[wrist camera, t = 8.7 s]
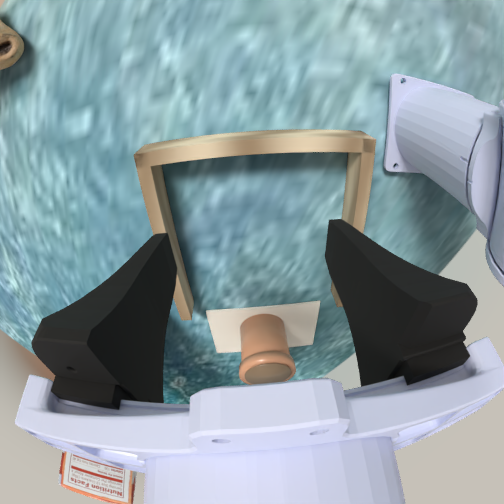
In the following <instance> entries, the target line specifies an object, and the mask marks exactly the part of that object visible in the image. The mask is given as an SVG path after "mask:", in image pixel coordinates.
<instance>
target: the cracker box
mask: <svg viewBox="0 0 504 504" xmlns="http://www.w3.org/2000/svg"><path fill="white" fill-rule="evenodd" d="M59 474H60V475H59V485H60V486H62V487H64V488H66V489H69V490H72V491H74V492H77V493H80V494H83V495H85V496H88V497H91V498H94V499H97V500H101V501H105V502H108V503H112V504H133V497H134V490H135V483H136V471H131V470H127V469H123V468H118V467H114V466H111V465H107V464H103V463H100V462H96V461H93V460H90V459H87V458H84V457H81V456H77V455H74V454H72V453H69V452H66V451H63V453H62V459H61V467H60V473H59Z"/></svg>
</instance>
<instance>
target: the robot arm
mask: <svg viewBox="0 0 504 504" xmlns="http://www.w3.org/2000/svg"><path fill="white" fill-rule="evenodd" d="M401 78H402V79H403V83H401V81H400V80H401ZM395 163H396V166H395V167H394V168H393V165H394V164H395ZM384 168H385V169H386V170H387V171H389V172H410V173H424V174H425V175H426V176H428V177H429V178H430V179H432V180H433V181H434V182H436V183H437V184H438V185H440V186H441V187H442V188H443V189H445V190H446V191H447V192H448V193H450V194H451V195H452V196H453V197H455V198H456V199H457V200H458V201H459V202H460V203H462V204H463V205H464V206H465V207H466V208H467V209H469V210H470V211H471V212H472V213H473V214H474V215H475V216H476V219H477V227H476V228H477V229H478V230H479V231H480V232H481V233H482V234H483V235H484V236H485V237H486V239H487V243H486V249H485V250H486V259H487V263H488V265H489V268H490V270H491V271H492V273H493V275H494V276H495V277H496V279H497V280H498V281H499V282H500V283H501V284H502V285H503V286H504V100H501V101H500V103H499V107H497V106H495V105H492V104H489V103H486V102H483V101H480V100H477V99H475V98H474V96H472V95H470V94H467V93H464V92H461V91H458V90H455V89H452V88H449V87H446V86H443V85H440V84H436V83H433V82H429V81H426V80H422V79H418V78H414V77H410V76H405V75H401V74H392V75H391V76H390V95H389V114H388V127H387V139H386V148H385V157H384ZM325 259H326V262H327V266H328V270H329V273H330V276H331V279H332V281H333V283H334V286H335V288H336V291H337V293H338V295H339V298H340V300H341V303H342V305H343V308H344V310H345V313H346V315H347V318H348V322H349V326H350V329H351V333H352V337H353V342H354V346H355V351H356V356H357V361H358V367H359V373H360V381H361V387H358V388H354V389H349V390H344V391H343V387H342V384H341V383H340V382H338V381H335V380H332V379H329V378H309V379H302V380H294V381H286V382H277V383H266V384H254V385H239V386H220V387H213V388H206V389H203V390H201V391H199V392H197V393H195V394H193V395H192V396H190V404H166V403H164V400H163V360H164V344H165V334H166V327H167V323H168V318H169V314H170V309H171V305H172V300H173V296H174V292H175V287H176V278H177V265H176V261H175V258H174V254H173V250H172V247H171V243H170V239H169V235H168V233H159V234H154V235H153V236H152V237H151V238H150V239H149V240H148V241H147V242H146V243H145V244H144V245H143V246H142V247H141V248H140V249H139V250H138V251H137V252H136V253H135V254H134V255H133V256H132V257H131V258H130V259H129V260H128V261H127V262H126V263H125V264H124V265H123V266H122V267H121V268H119V269H118V270H117V271H116V272H115V273H114V274H113V275H112V276H111V277H109V278H108V279H107V280H106V281H104V282H103V283H102V284H101V285H99V286H98V287H97V288H95V289H94V290H92V291H91V292H89V293H88V294H87V295H85V296H84V297H82V298H81V299H79V300H77V301H76V302H74V303H72V304H71V305H69V306H67V307H65V308H64V309H62V310H60V311H58V312H56V313H53V314H51V315H49V316H47V317H45V318H43V319H42V321H41V323H40V325H39V327H38V329H37V331H36V334H35V336H34V338H33V340H32V348H33V350H34V352H35V354H36V355H37V357H38V358H39V359H40V360H41V361H42V362H43V363H44V364H45V365H46V366H47V367H48V368H49V369H50V370H51V371H52V373H54V374H55V375H56V376H55V379H54V382H53V381H51V380H49V379H47V378H43V377H39V376H35V375H29V378H28V381H27V384H26V387H25V390H24V393H23V396H22V399H21V402H20V406H19V409H18V413H17V416H16V420H15V424H16V425H17V426H19V427H20V428H22V429H23V430H25V431H26V432H28V433H29V434H31V435H33V436H34V437H36V438H38V439H39V440H41V441H43V442H45V443H46V444H48V445H50V446H52V447H55V448H58V449H60V450H63V451H66V452H69V453H72V454H74V455H77V456H81V457H84V458H87V459H90V460H93V461H96V462H100V463H103V464H107V465H111V466H114V467H118V468H123V469H127V470H131V471H136V472H141V473H145V488H144V504H405V499H404V494H403V489H402V484H401V479H400V475H399V471H398V466H397V462H396V458H395V454H394V451H396V450H398V449H401V448H403V447H406V446H408V445H411V444H413V443H415V442H418V441H420V440H422V439H424V438H426V437H428V436H430V435H433V434H435V433H437V432H439V431H441V430H443V429H445V428H447V427H448V426H450V425H452V424H454V423H456V422H458V421H460V420H462V419H463V418H465V417H467V416H469V415H470V414H472V413H474V412H476V411H477V410H479V409H480V408H482V407H483V406H484V405H485V404H486V403H488V402H489V401H490V400H491V399H493V398H494V397H495V396H496V395H497V394H498V393H499V392H501V391H502V390H503V389H504V365H503V363H502V362H501V360H500V358H499V356H498V354H497V352H496V350H495V348H494V347H493V345H492V343H491V341H490V339H489V337H485V338H482V339H480V340H478V341H475V342H473V343H471V344H470V345H468V346H467V347H466V346H465V345H464V343H463V341H465V339H466V336H465V335H464V333H463V330H464V329H465V327H466V326H467V324H468V323H469V321H470V320H471V318H472V316H473V315H474V313H475V311H476V307H477V298H476V296H475V295H474V294H473V292H472V291H471V289H470V288H469V286H468V285H467V284H465V283H462V282H458V281H455V280H451V279H447V278H444V277H442V276H439V275H436V274H433V273H431V272H429V271H426V270H424V269H422V268H419V267H417V266H415V265H413V264H411V263H409V262H407V261H405V260H403V259H401V258H400V257H398V256H396V255H394V254H393V253H391V252H389V251H388V250H386V249H385V248H383V247H381V246H380V245H378V244H377V243H375V242H374V241H373V240H371V239H370V238H368V237H367V236H365V235H364V234H363V233H361V232H360V231H359V230H357V229H356V228H354V227H353V226H352V225H350V224H349V223H347V222H346V221H344V220H342V219H335V220H329V225H328V234H327V243H326V251H325Z"/></svg>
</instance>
